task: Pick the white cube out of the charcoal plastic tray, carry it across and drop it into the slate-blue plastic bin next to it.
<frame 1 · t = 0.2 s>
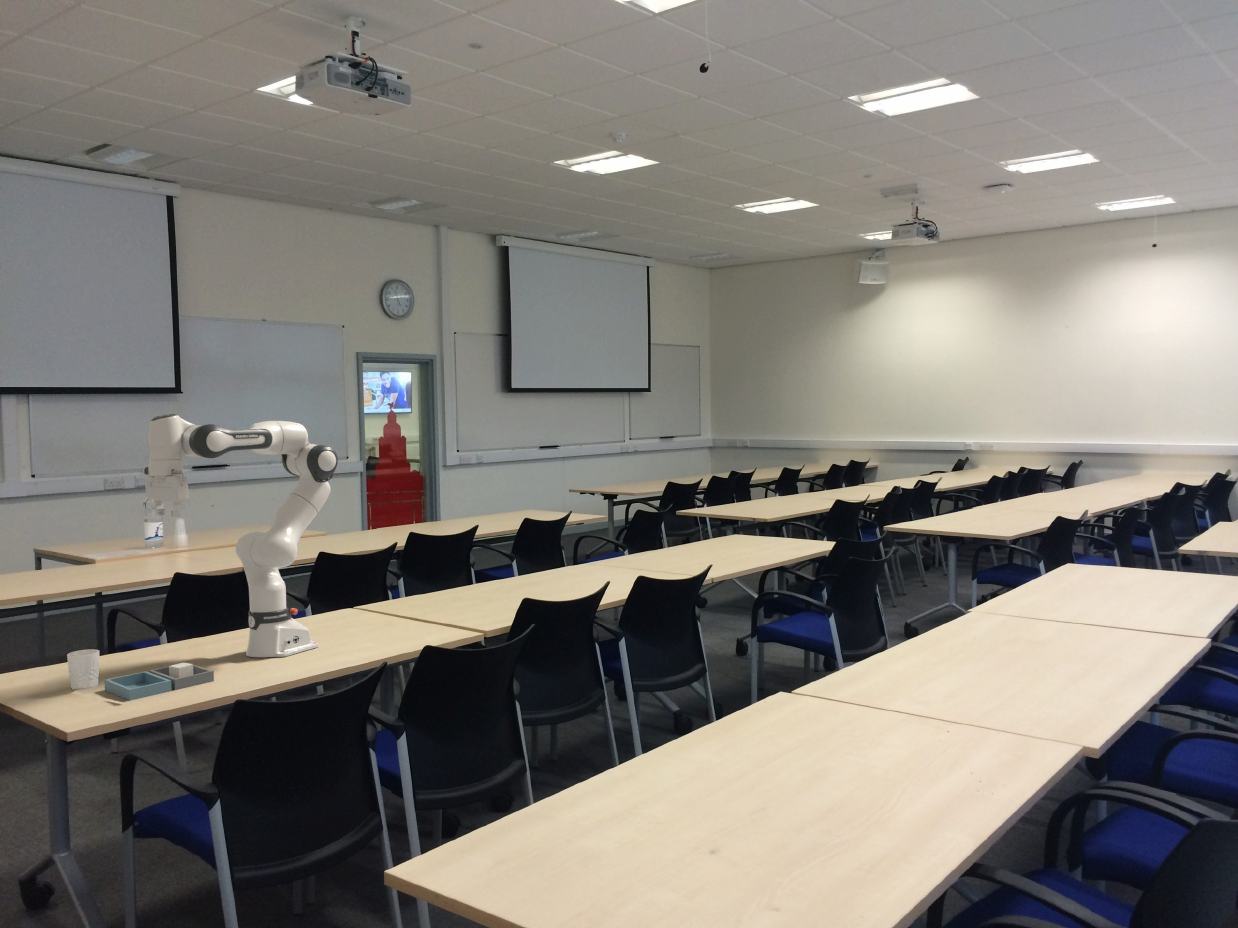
hand: (168, 516, 270), 47 cm above the table, tool pointing down, fingers open, 8 cm apart
white cup: (84, 688, 259), on the table
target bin: (138, 692, 253), on the table
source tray: (181, 682, 262), on the table
white cube: (181, 680, 262), point 1 cm above the table, touching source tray
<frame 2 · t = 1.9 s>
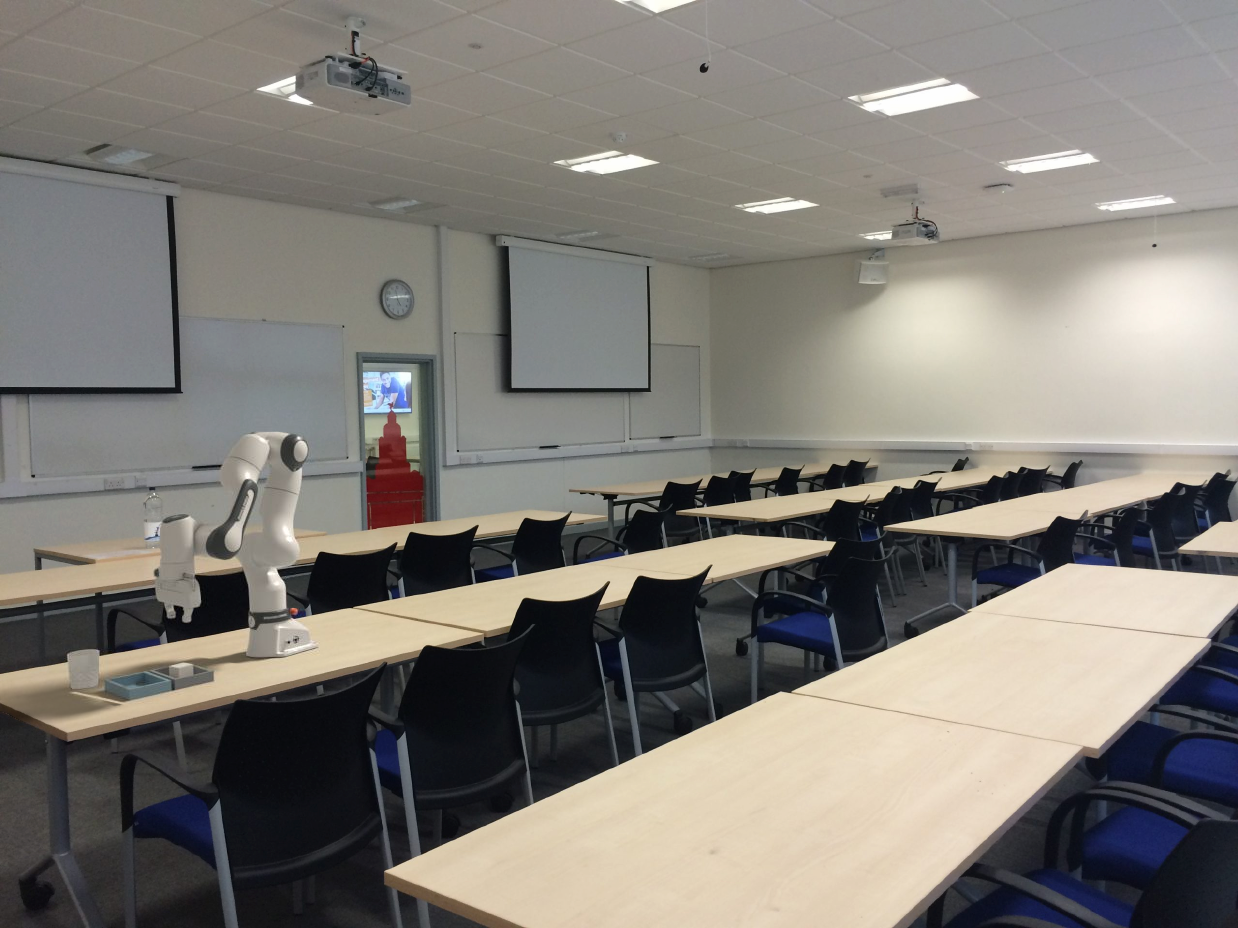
hand: (178, 619, 261), 18 cm above the table, tool pointing down, fingers open, 8 cm apart
nothing on the table moved.
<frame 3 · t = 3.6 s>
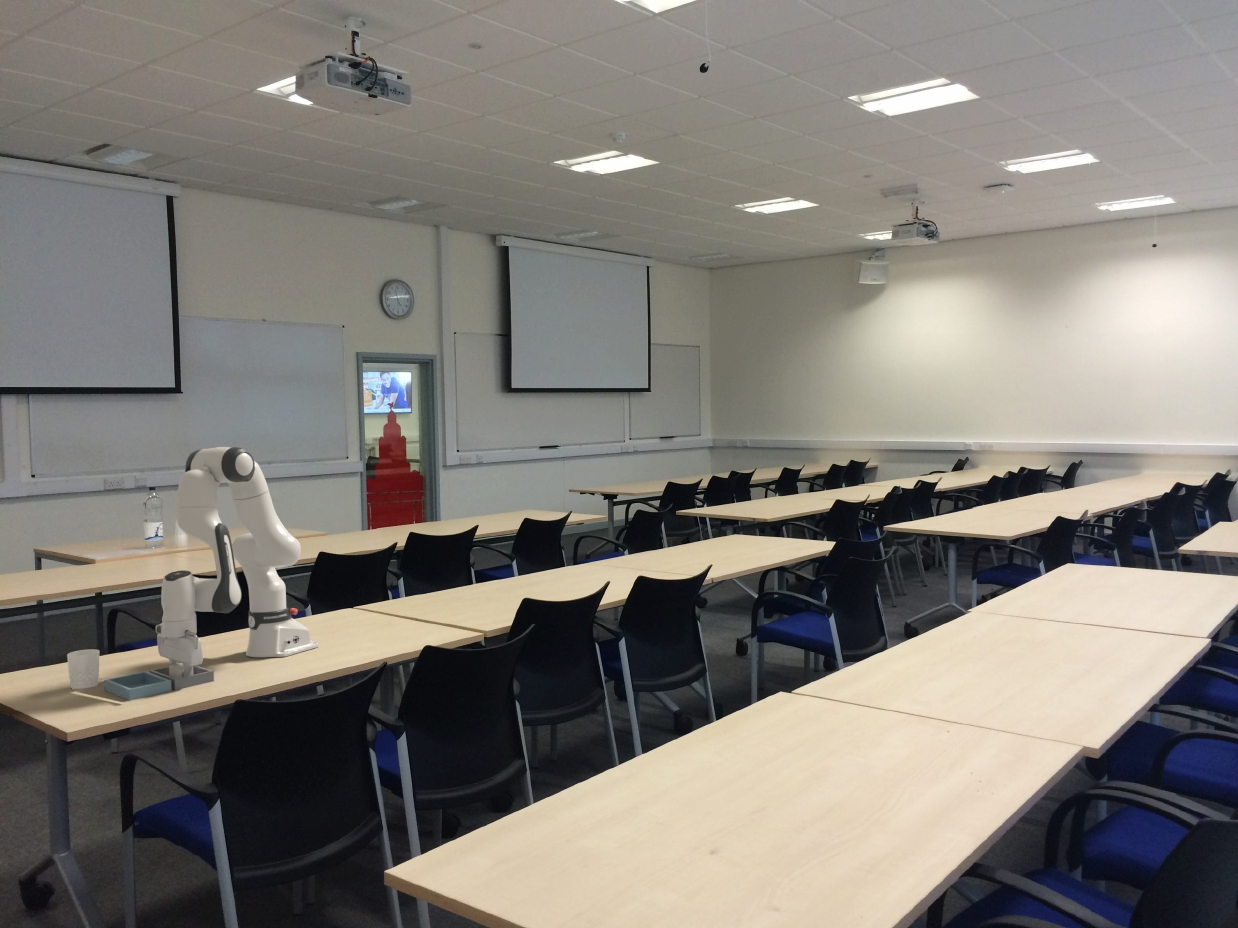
hand: (181, 676, 262), 2 cm above the table, tool pointing down, fingers closed on white cube, 5 cm apart
white cube: (181, 680, 262), point 1 cm above the table, touching gripper, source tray
everything else where it was.
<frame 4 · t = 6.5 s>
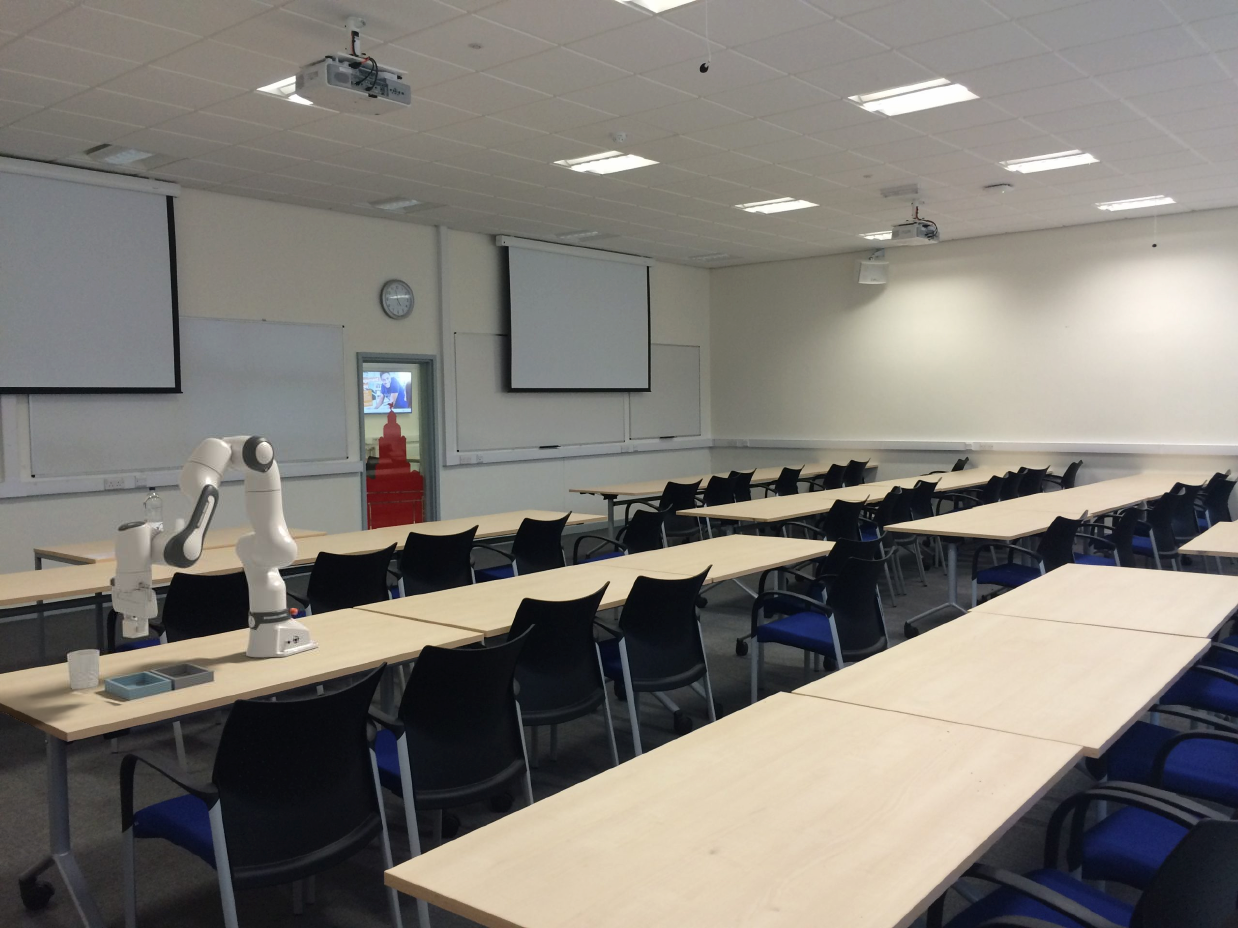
hand: (135, 630, 252), 17 cm above the table, tool pointing down, fingers closed on white cube, 5 cm apart
white cube: (135, 635, 252), point 16 cm above the table, touching gripper
everything else where it was.
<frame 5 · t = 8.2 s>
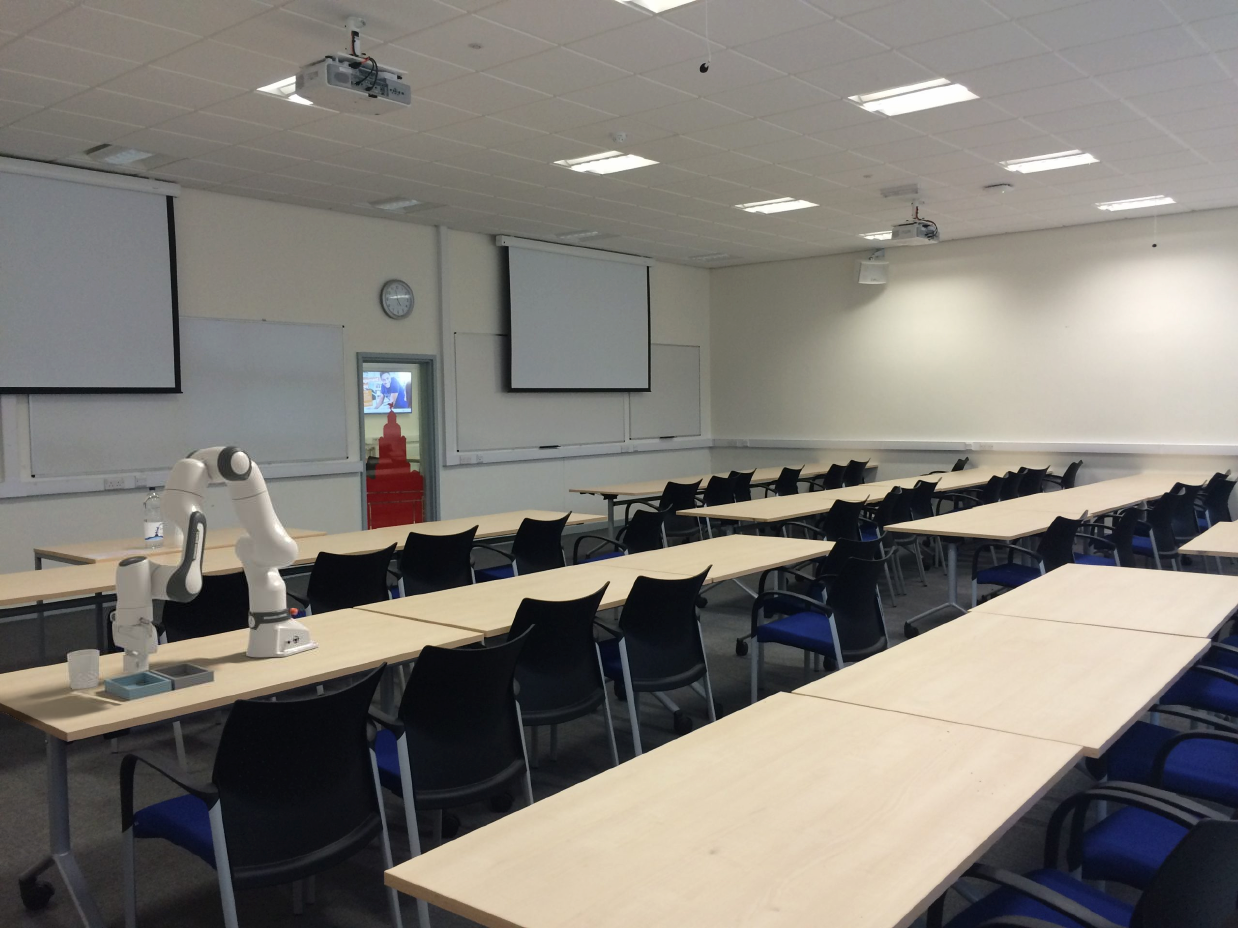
hand: (136, 665, 252), 8 cm above the table, tool pointing down, fingers closed on white cube, 5 cm apart
white cube: (136, 670, 252), point 6 cm above the table, touching gripper
everything else where it was.
when the fingers open (4 cm above the table, at t = 9.4 s): white cube drops 2 cm, resting on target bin.
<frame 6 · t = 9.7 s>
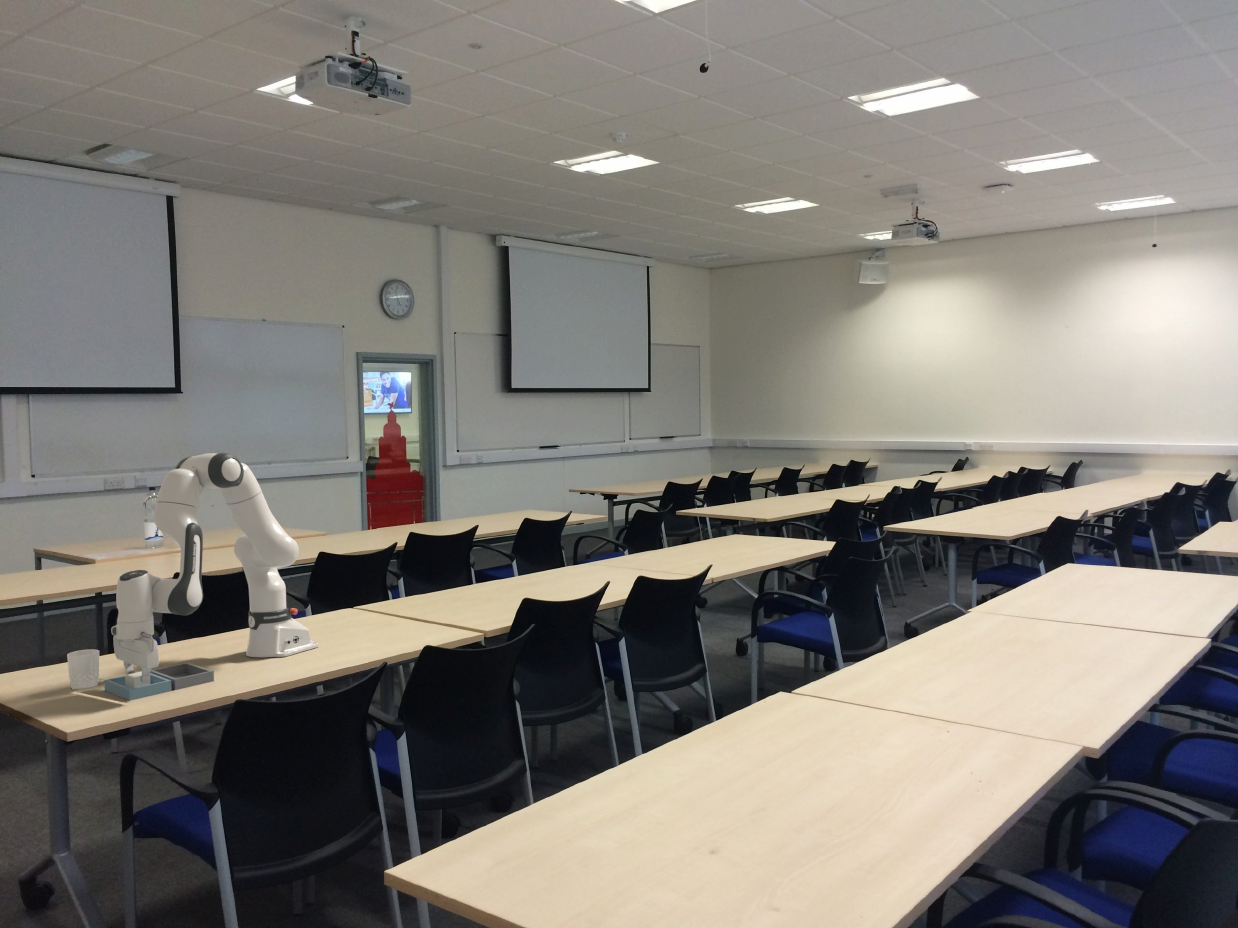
hand: (137, 679, 253), 4 cm above the table, tool pointing down, fingers open, 8 cm apart
white cube: (138, 690, 253), point 1 cm above the table, touching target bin
everything else where it was.
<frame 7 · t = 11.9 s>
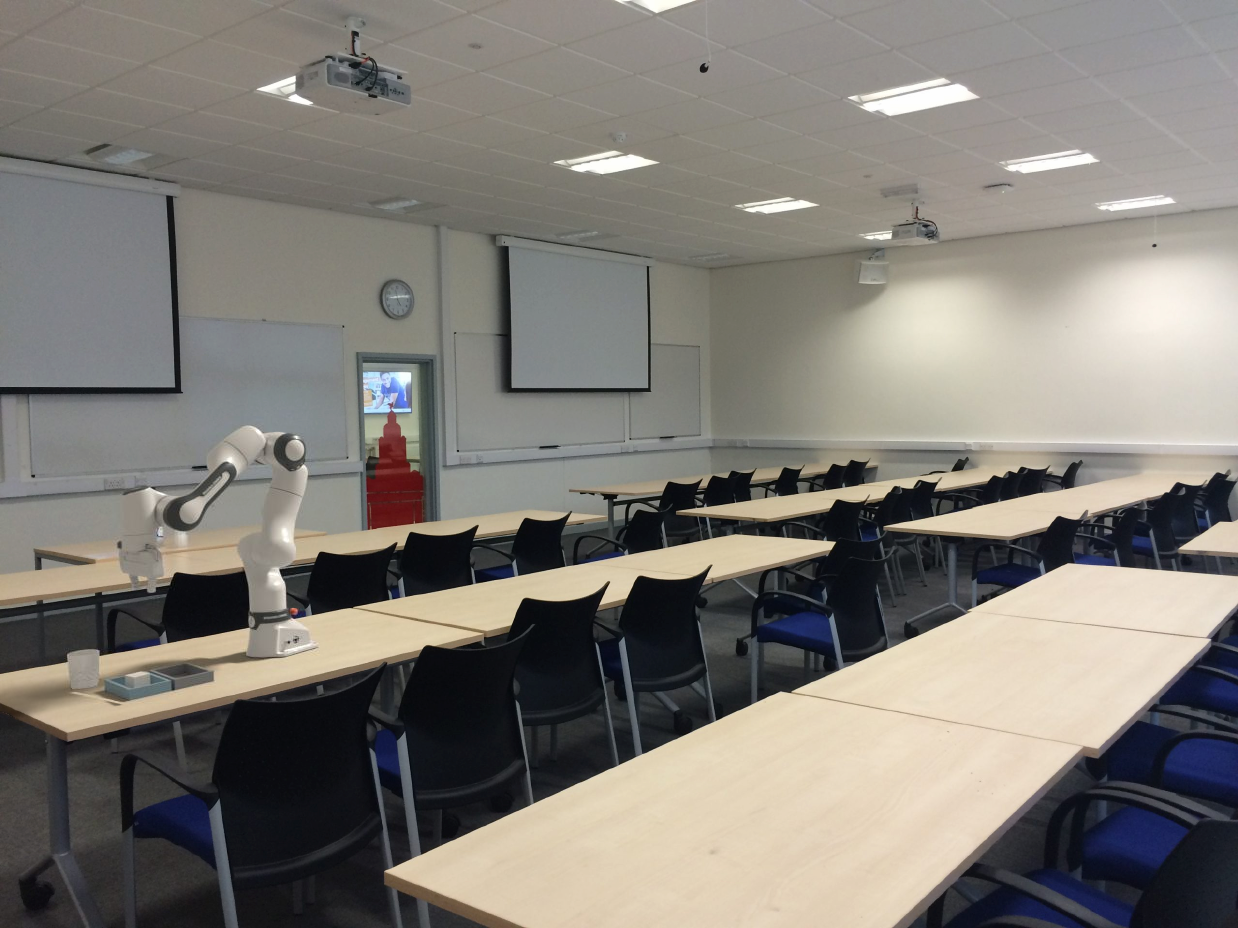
hand: (143, 590, 264), 26 cm above the table, tool pointing down, fingers open, 8 cm apart
nothing on the table moved.
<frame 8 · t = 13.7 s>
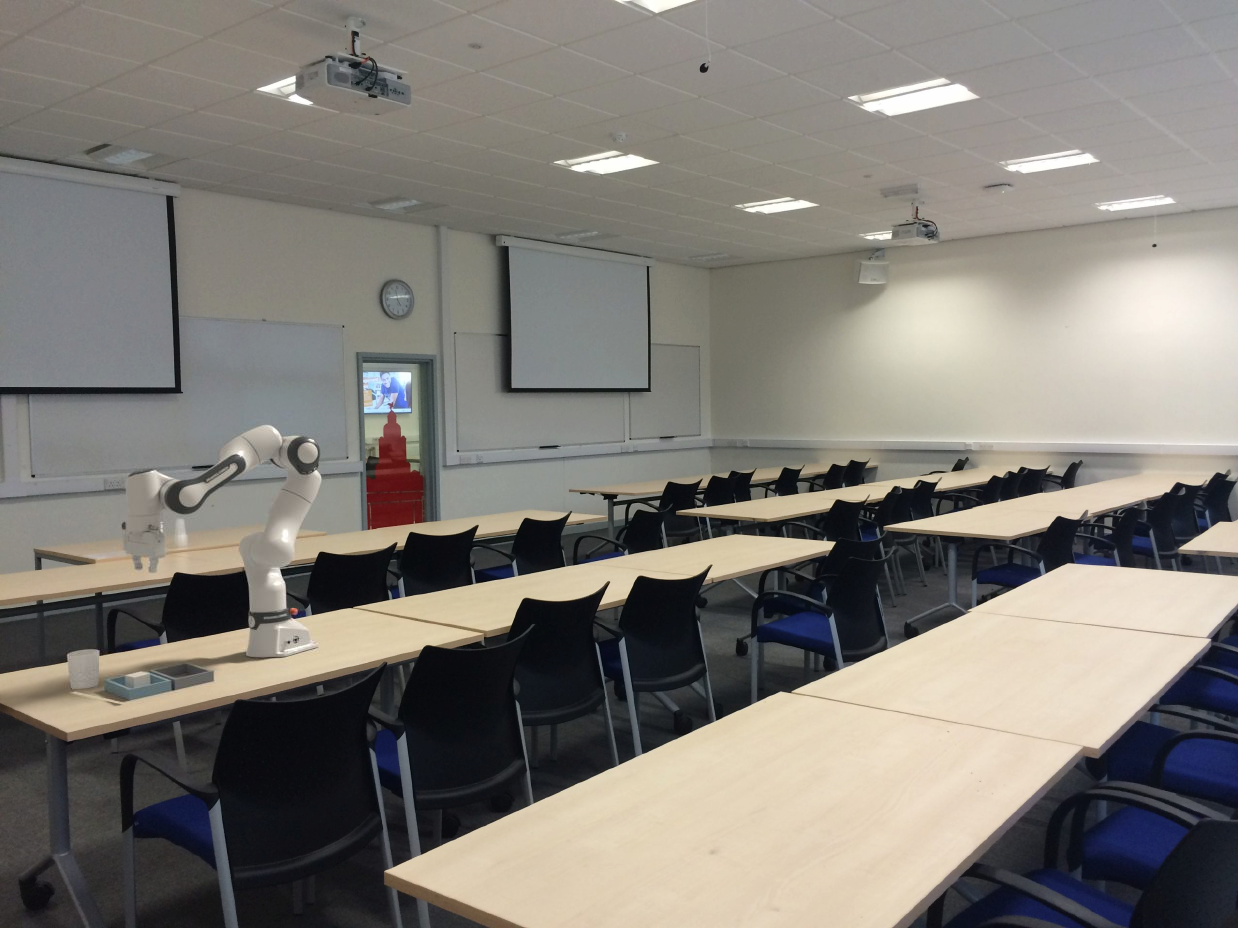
hand: (145, 571, 269), 31 cm above the table, tool pointing down, fingers open, 8 cm apart
nothing on the table moved.
at the end: white cube inside the target area on the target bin (0.1 cm from its centre), point 0.6 cm above the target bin's base; the gripper is holding nothing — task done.
